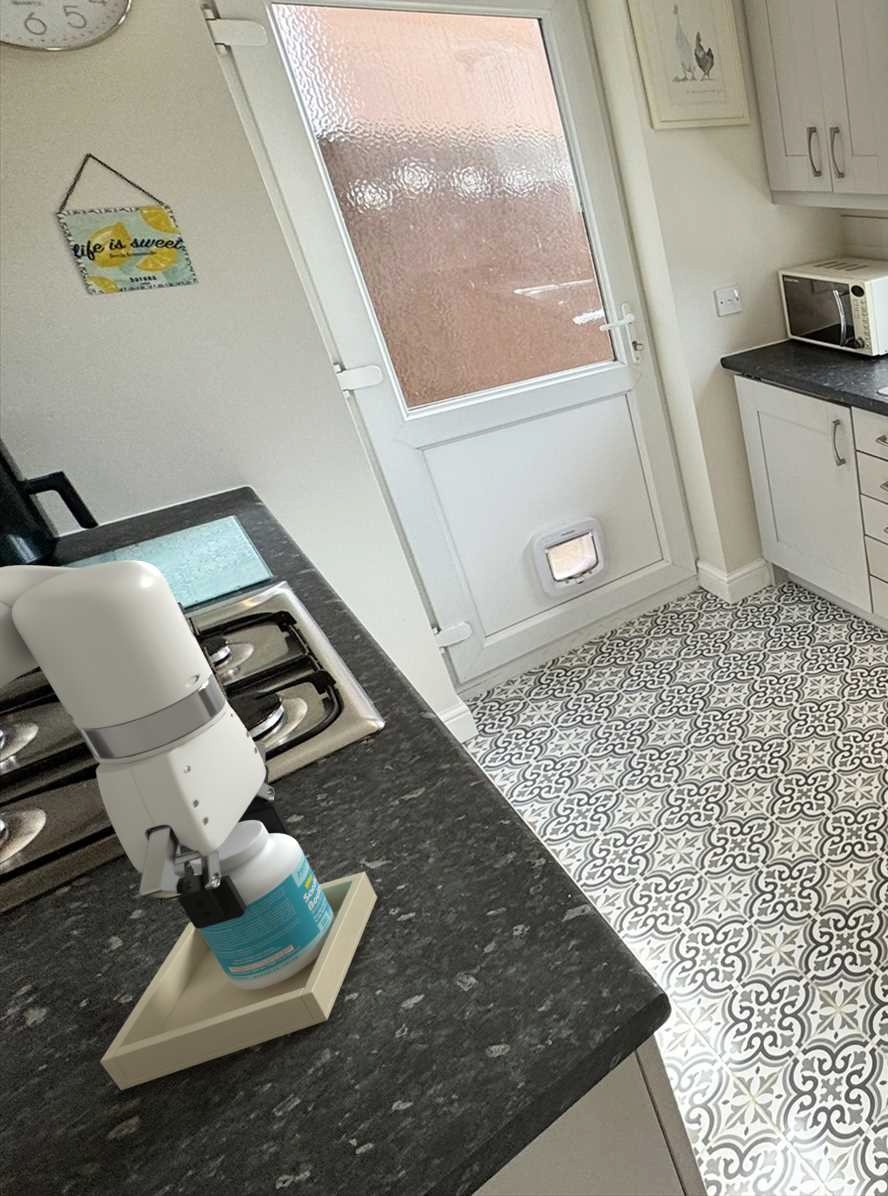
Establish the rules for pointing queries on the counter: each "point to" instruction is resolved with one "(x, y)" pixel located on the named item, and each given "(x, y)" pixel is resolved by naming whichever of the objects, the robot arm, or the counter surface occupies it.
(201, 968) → the tray
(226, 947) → the pill bottle
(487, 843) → the counter surface
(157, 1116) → the counter surface
